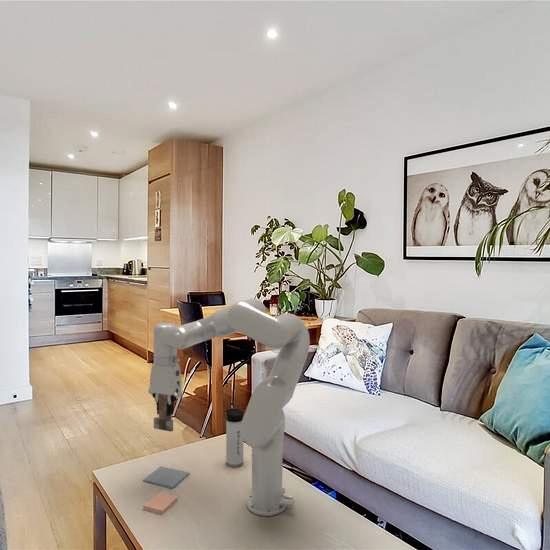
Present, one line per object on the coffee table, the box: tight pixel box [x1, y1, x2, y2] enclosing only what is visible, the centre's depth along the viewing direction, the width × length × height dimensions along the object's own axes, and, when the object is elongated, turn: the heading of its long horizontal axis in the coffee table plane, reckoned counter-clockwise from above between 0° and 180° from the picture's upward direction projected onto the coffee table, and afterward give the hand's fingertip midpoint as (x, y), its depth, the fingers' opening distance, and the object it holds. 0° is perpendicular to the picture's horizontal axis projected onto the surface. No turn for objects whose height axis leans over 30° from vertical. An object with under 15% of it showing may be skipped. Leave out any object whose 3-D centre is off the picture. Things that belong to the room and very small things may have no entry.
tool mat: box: [142, 465, 190, 490], centre depth 147 cm, size 12×10×1 cm
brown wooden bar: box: [153, 394, 174, 433], centre depth 144 cm, size 7×3×14 cm, turn 70°
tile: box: [142, 491, 179, 516], centre depth 131 cm, size 7×2×8 cm
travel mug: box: [225, 408, 244, 468], centre depth 157 cm, size 6×7×20 cm
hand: (165, 413), depth 144 cm, fingers closed on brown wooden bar, 3 cm apart
